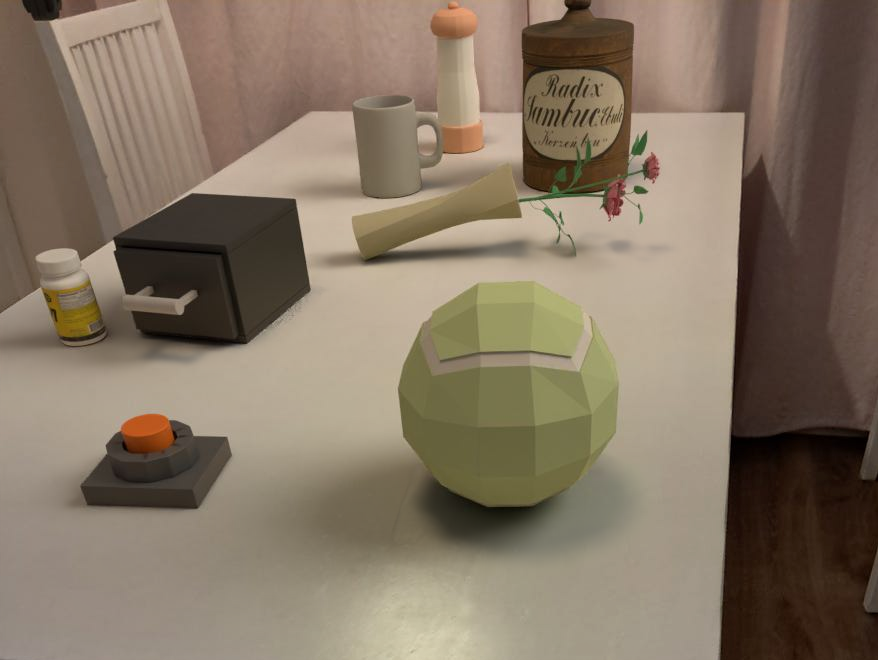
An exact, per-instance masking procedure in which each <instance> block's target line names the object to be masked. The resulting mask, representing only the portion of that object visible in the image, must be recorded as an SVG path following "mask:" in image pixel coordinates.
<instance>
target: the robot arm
mask: <svg viewBox="0 0 878 660" xmlns="http://www.w3.org/2000/svg"><path fill="white" fill-rule="evenodd" d="M21 2H22V6H23V8H24V9H25V11H26V12H27V14H30V15H31V18H32V19H33V21H34V22H53V21H55V20H58V19H60V11H62V10H63V2H62V0H21Z"/></svg>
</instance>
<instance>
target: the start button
mask: <svg viewBox="0 0 878 660" xmlns="http://www.w3.org/2000/svg"><path fill="white" fill-rule="evenodd" d="M169 420H170V419H169V418H168V417H167V416H165V415H164V414H160V413H144V414H140V415H137V416H134V417H131V418H129V419H128V420H125V422H124V423H123V424H122V425H121V427H120V431H121V433H122V436H123V439H124V441H125V444H126V447H127V450H128V452H130V453H132V454H148V453H152V452H157V451H161V450H163V449H165V448H167V447H169V446H171V445H172V444H173V443H174V436H173V433H172V429H171V426H170V423H169Z"/></svg>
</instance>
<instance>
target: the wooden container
mask: <svg viewBox="0 0 878 660" xmlns="http://www.w3.org/2000/svg"><path fill="white" fill-rule="evenodd" d="M591 4H592V0H563V5H564V6H565V7H566V8H567V10H566V11H565V13H564V14H563V16H562V17H561V18H560V19H555V20H548V21H543V22H542V21H541V22H537V23H534V24H530V25H527V26H525V27H523V28H522V30H521V56H522V57H521V58H522V110H521V111H522V114H521V115H522V117H521V118H522V119H521V120H522V121H521V122H522V123H521V125H522V126H521V132H522V133H521V135H522V137H521V138H522V139H521V142H522V143H521V144H522V145H521V147H522V148H521V149H522V179H523V182H524V183H525V184H526V185H527V186H529V187H531V188H534V189H536V190H540V191H544V192H549V193H552V187H551V185H552V184H553V183H554V182H555V181H556V180H557V179H556V178H555V176H556V174H557V173H558V171H559V170H560V169H562V168H563V167H565V166H566V172H565V173H566V181H559V180H557V181H556V182H555V183H554V184H553V185H552V186H556V187H557V188H558V190H559V192H560V191H565V190H569V189H573V188H578V187H582V186H587V185H591V184H595V183H599V182H602V181H606V180H609V179H613V178H616V177H617V175H620V176H623V175H626V174H629V170H628V171H627V168H628V169H629V167H628V162H630V156H629V155H630V148H631V147H630V146H631V132H632V107H633V106H632V105H633V103H632V102H633V101H632V100H633V70H634V68H633V67H634V66H633V65H634V43H635V25H634V23H632V22H630V21H627V20H623V19H618V18H607V17H595V15H594V14H593V13H592V11H591V10H590V8H591V7H590V6H591ZM588 138H589V141H590V144H591V159H590V161H589V162H587V163H586V164H584V160H585V156H586V146H587V139H588ZM576 146H577V147H578V150H579V153H580V157H581V166H582V165H583V164H584V165H583V166H582V167H581V168H580V170H581V172H582V174H581V176H580V177H579V178H578V180H577V183H576V184H575V182H576V181H575V179H574V166H575V167H577V150H576ZM628 157H629V159H628ZM573 179H574V181H575V182H574V181H573ZM621 179H622V178H621ZM621 179H620V182H621ZM627 179H628V177H624V178H623V182H624V183H625V182H626V180H627ZM572 182H573V183H574V184H573V183H572ZM611 182H612V181H611ZM611 182H609V183H611ZM571 183H572V184H573V185H572V184H571ZM609 183H608V182H607V183H604V184H600V185H596V186H592V187H588V188H584V189H579V190H575V191H570V192H566V193H565V194H585V193H591V192H599V191H603V190H604V186H606V187H608V184H609ZM570 185H572V186H571V187H570V188H568V187H569V186H570ZM550 187H551V189H550ZM567 188H568V189H567ZM549 189H550V191H549ZM604 191H605V190H604Z"/></svg>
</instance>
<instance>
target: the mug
mask: <svg viewBox="0 0 878 660" xmlns="http://www.w3.org/2000/svg"><path fill="white" fill-rule="evenodd" d="M351 106H352V107H351V108H352V118H353V125H354V133H355V141H356V151H357V158H358V165H359V166H358V167H359V168H358V169H359V177H360V187H361V191H362V193H363V194H364V195H366V196H368V197H371V198H377V197H378V198H379V199H393V198H402V197H407V196H410V195H412V194H415V193H417V192H419V191H420V190H421V188H422V171H421V169H422V170H423V169H429V168H433V167H436V166H437V165H438V164H439V163H440V162H441V160H442V158H443V154H444V152H443V133H442V128H441V125H440V122H439V120H438V116H436V115H435V114H434V113H431V112H426V111H417V110H416V102H415V99H414V98H413V97H411V96H409V95H403V94H379V95H372V96H366V97H362V98H359V99H356V100H354V101H353V103H352V105H351ZM422 126H430V127H431V128H433V130H434V133H435V139H436V146H435V151H434V152H433V154H430V155H424V154H423V153H420V147H419V139H418V136H419V135H418V128H419V127H422Z"/></svg>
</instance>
